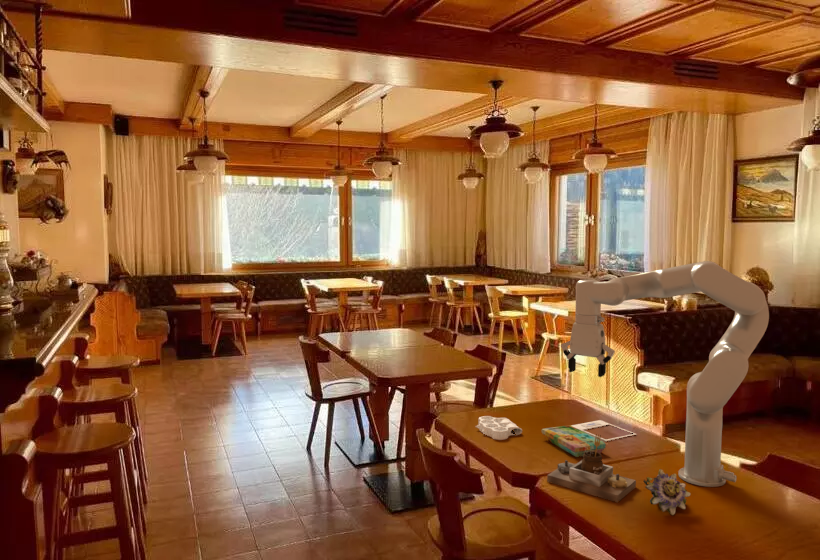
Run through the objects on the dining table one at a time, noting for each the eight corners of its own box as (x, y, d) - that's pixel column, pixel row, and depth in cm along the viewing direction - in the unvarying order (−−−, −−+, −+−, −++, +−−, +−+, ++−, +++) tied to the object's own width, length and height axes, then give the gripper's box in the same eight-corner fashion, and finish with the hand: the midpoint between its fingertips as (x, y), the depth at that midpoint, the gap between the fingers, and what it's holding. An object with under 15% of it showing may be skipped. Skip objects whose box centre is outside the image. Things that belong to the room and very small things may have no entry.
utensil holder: (577, 477, 177) (578, 437, 176) (588, 471, 181) (589, 432, 180) (596, 483, 173) (597, 442, 172) (607, 477, 177) (608, 436, 176)
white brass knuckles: (525, 438, 217) (487, 442, 213) (505, 422, 234) (469, 425, 231) (526, 429, 217) (487, 432, 213) (505, 414, 234) (469, 417, 231)
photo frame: (600, 419, 235) (636, 433, 219) (600, 422, 235) (636, 436, 219) (570, 425, 228) (605, 439, 212) (570, 428, 228) (605, 443, 212)
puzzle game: (575, 445, 196) (541, 426, 215) (574, 459, 197) (541, 439, 216) (605, 441, 200) (570, 422, 219) (605, 455, 201) (570, 435, 220)
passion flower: (671, 534, 159) (655, 505, 154) (643, 508, 169) (627, 480, 164) (703, 507, 161) (689, 477, 156) (674, 483, 171) (659, 455, 166)
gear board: (635, 487, 175) (636, 470, 175) (617, 502, 165) (617, 484, 165) (567, 468, 189) (568, 452, 189) (547, 481, 179) (547, 464, 179)
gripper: (619, 320, 188) (618, 375, 189) (567, 315, 199) (566, 367, 200) (609, 323, 182) (608, 380, 183) (556, 318, 193) (555, 371, 195)
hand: (586, 373), depth 192 cm, fingers open, 9 cm apart
